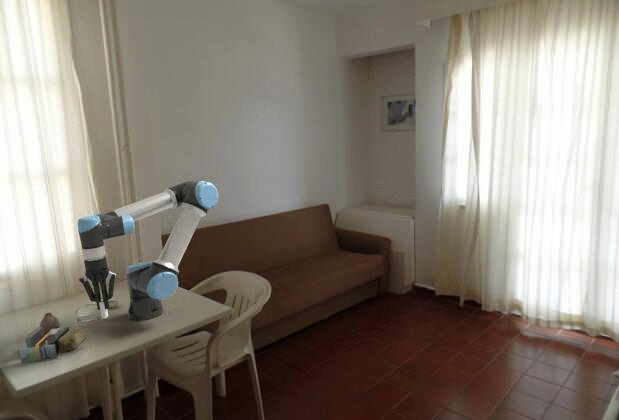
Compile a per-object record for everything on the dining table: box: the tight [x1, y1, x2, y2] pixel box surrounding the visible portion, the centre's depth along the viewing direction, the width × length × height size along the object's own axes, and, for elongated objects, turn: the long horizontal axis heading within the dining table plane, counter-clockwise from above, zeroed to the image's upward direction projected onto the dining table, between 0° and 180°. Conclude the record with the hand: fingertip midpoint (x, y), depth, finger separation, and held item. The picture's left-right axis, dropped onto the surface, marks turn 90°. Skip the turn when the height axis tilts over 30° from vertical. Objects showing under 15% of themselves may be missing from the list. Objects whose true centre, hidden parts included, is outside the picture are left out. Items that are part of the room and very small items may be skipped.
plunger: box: [36, 326, 71, 359], centre depth 160 cm, size 4×18×6 cm, turn 8°
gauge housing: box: [18, 326, 58, 363], centre depth 159 cm, size 12×14×7 cm
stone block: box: [58, 326, 86, 353], centre depth 163 cm, size 6×12×5 cm, turn 5°
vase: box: [39, 312, 61, 336], centre depth 174 cm, size 7×7×9 cm
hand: (105, 317), depth 163 cm, fingers closed
